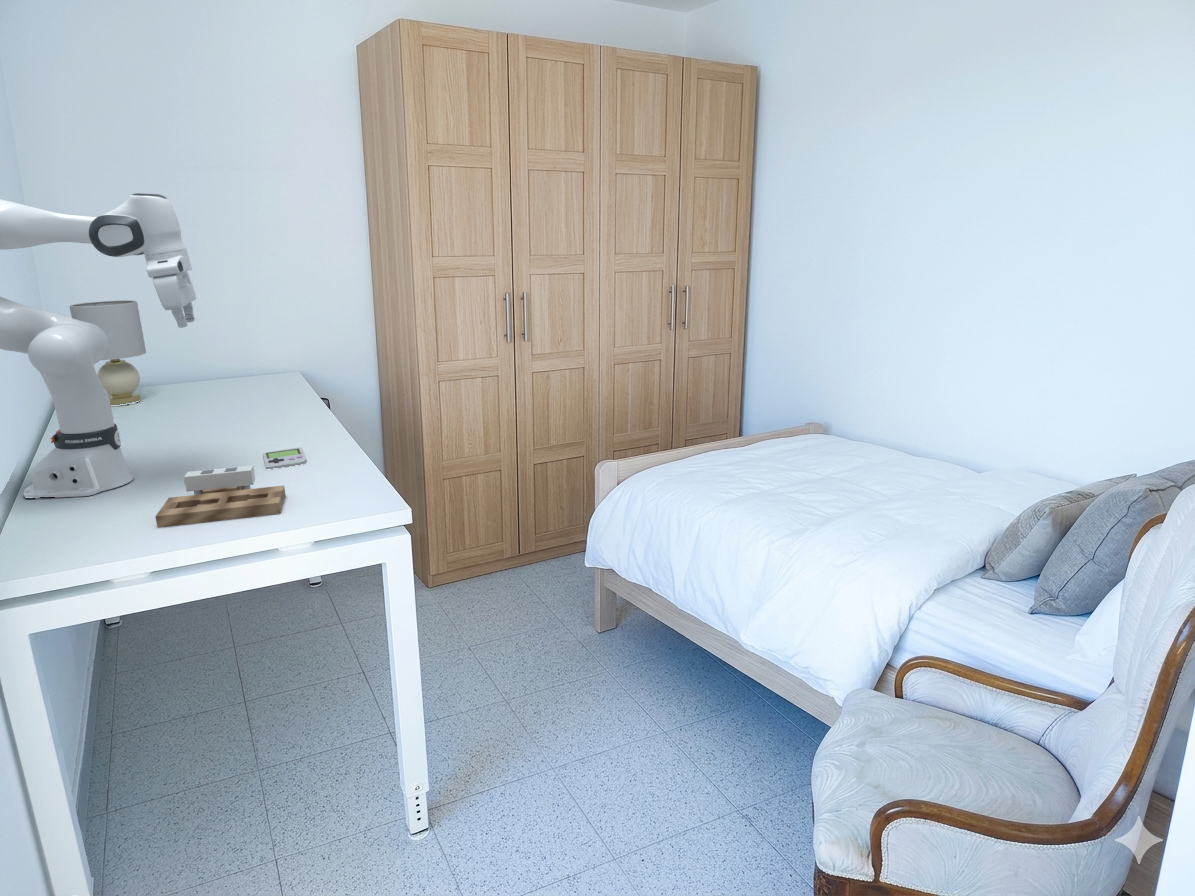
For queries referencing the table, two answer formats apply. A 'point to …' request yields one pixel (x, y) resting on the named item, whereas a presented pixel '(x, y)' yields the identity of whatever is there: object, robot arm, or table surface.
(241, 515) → the keyhole board
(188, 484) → the power strip
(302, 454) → the handheld gaming console
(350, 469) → the table surface
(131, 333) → the lamp
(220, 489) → the brown block
